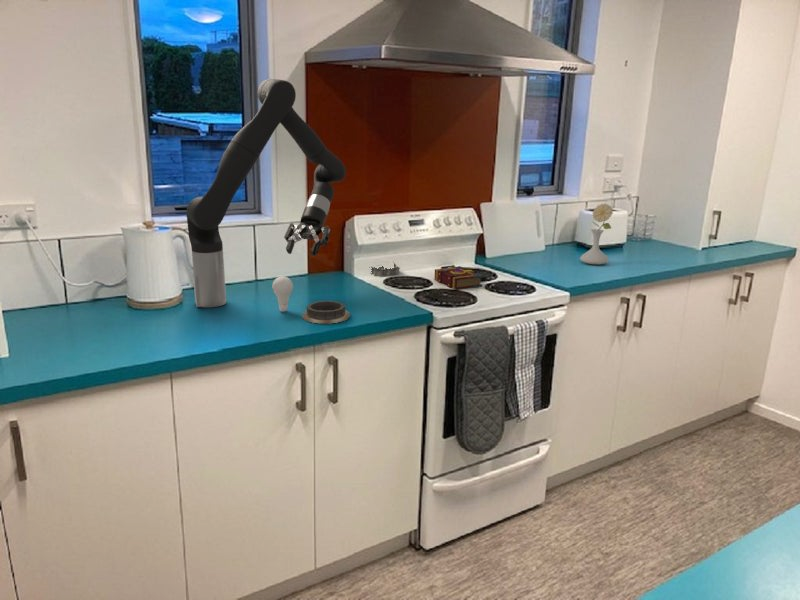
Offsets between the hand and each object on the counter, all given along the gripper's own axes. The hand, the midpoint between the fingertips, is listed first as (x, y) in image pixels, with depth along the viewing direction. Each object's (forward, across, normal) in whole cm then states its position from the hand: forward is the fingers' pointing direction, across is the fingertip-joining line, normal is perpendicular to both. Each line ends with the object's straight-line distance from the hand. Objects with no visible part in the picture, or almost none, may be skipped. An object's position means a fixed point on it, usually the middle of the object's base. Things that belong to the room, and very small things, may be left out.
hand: (300, 253), depth 201 cm
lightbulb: (+20, 0, +3) cm, 20 cm away
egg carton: (-19, +12, +43) cm, 48 cm away
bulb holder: (+19, +14, +3) cm, 24 cm away
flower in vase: (-54, +86, +78) cm, 127 cm away
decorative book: (-17, +40, +41) cm, 60 cm away
